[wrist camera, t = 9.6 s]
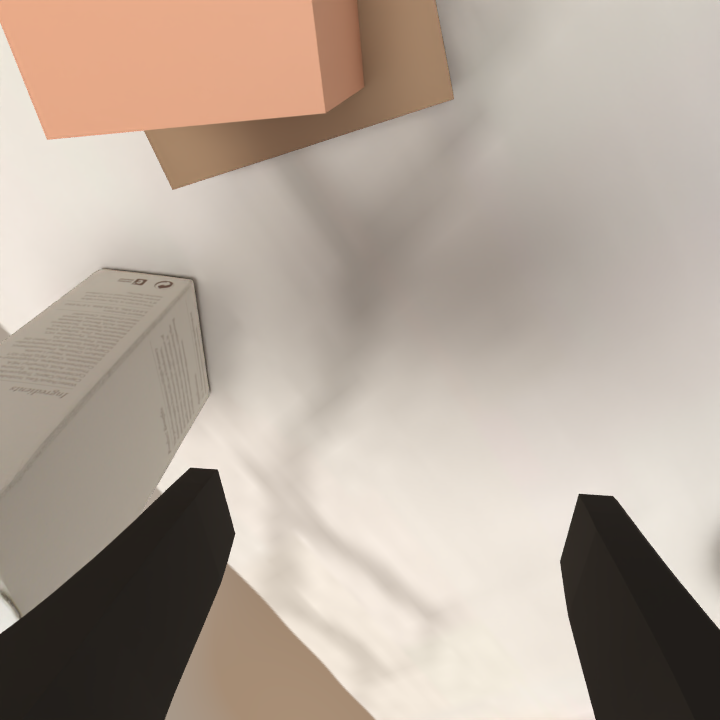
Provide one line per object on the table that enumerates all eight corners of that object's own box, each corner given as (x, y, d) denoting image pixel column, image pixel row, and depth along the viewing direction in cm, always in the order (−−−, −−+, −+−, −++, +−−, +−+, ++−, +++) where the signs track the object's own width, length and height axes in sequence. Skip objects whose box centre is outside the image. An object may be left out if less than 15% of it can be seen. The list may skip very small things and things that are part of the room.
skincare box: (96, 265, 20) (-252, 496, 10) (203, 276, 20) (-46, 529, 10) (128, 387, 23) (-108, 652, 13) (220, 399, 23) (48, 681, 13)
